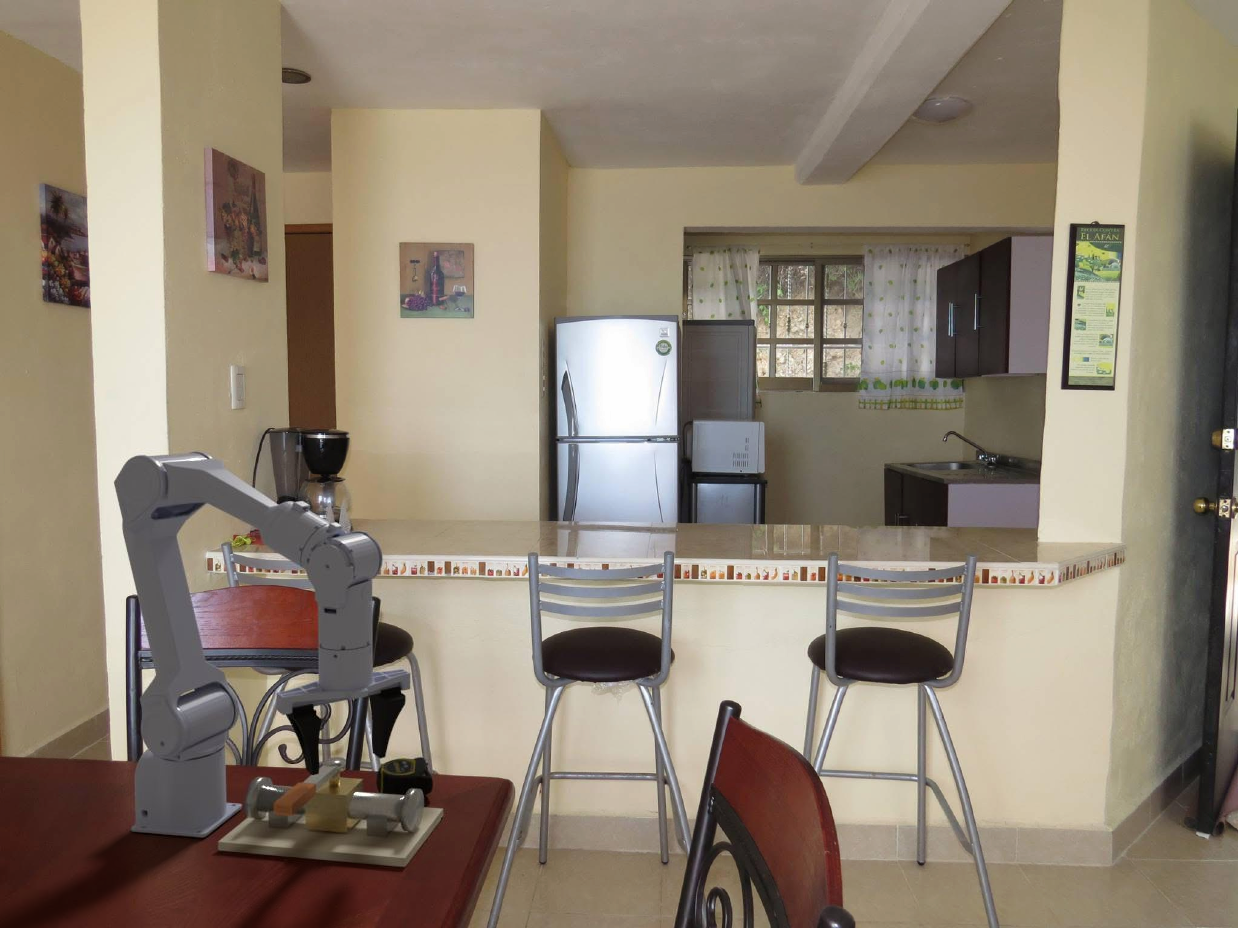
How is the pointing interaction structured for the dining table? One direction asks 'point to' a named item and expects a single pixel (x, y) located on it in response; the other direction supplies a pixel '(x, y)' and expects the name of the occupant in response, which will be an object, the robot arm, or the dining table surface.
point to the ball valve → (339, 807)
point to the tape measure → (404, 776)
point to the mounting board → (331, 841)
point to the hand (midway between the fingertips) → (346, 763)
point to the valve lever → (308, 787)
